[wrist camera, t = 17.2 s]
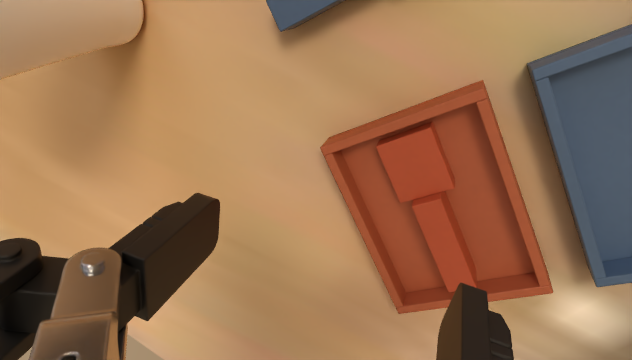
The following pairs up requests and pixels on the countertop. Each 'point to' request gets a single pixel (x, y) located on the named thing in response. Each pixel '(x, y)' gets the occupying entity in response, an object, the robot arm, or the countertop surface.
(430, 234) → the terracotta spoon
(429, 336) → the countertop surface
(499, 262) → the terracotta tray
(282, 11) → the slate spoon
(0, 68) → the drinking glass
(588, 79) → the slate tray
